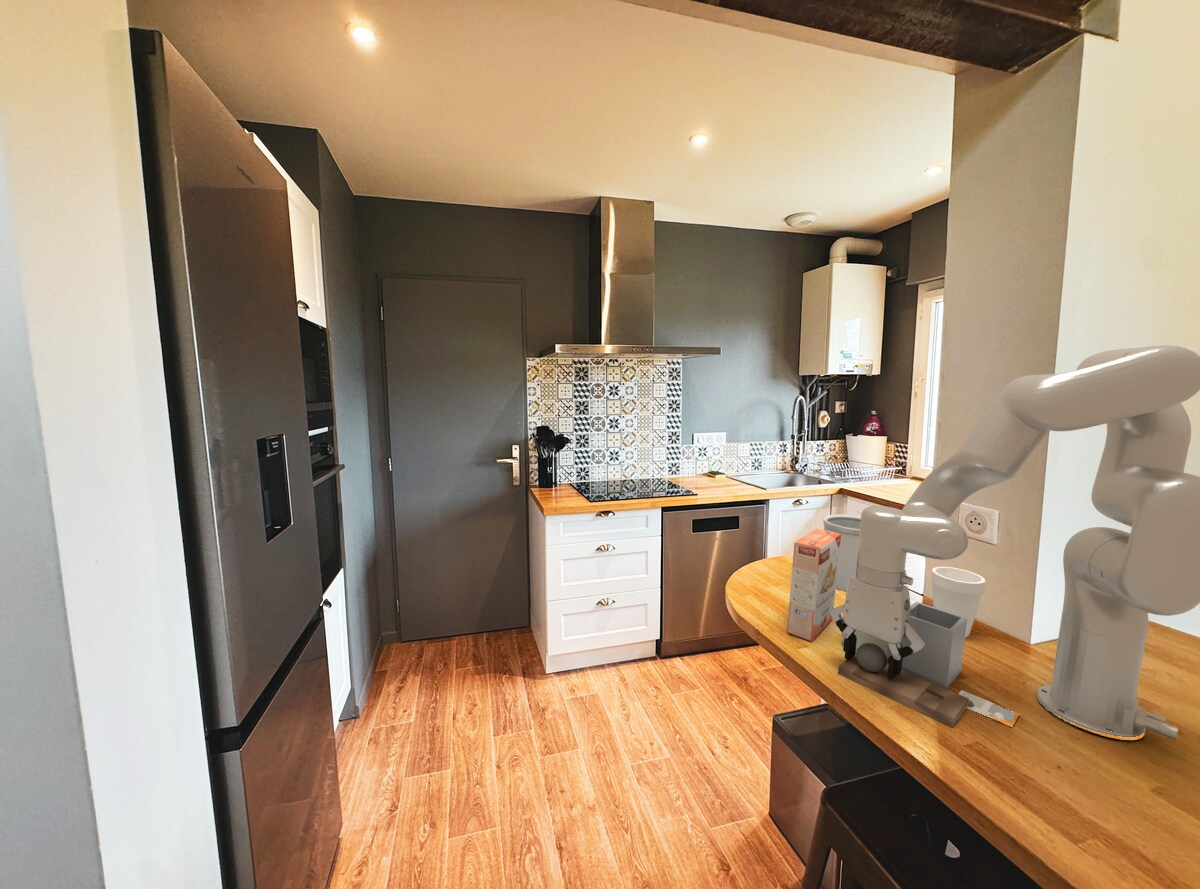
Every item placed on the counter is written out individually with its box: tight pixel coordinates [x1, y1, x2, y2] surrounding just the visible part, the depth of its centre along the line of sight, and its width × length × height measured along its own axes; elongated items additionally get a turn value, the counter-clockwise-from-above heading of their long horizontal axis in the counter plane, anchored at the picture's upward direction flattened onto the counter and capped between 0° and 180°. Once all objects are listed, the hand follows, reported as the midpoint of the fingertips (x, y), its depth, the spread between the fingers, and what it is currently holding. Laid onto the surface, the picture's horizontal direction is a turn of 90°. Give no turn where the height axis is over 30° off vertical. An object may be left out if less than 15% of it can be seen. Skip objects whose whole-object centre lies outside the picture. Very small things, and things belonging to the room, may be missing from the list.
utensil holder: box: [822, 514, 861, 592], centre depth 130 cm, size 15×15×18 cm
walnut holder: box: [837, 653, 969, 728], centre depth 85 cm, size 18×8×2 cm, turn 39°
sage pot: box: [841, 630, 892, 663], centre depth 98 cm, size 8×8×11 cm
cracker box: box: [786, 528, 841, 643], centre depth 106 cm, size 14×6×21 cm, turn 137°
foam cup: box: [930, 566, 986, 639], centre depth 106 cm, size 10×9×13 cm
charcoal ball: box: [856, 643, 888, 672], centre depth 89 cm, size 5×5×5 cm
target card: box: [958, 689, 1017, 721], centre depth 80 cm, size 8×5×1 cm, turn 39°
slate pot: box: [901, 601, 967, 689], centre depth 91 cm, size 8×8×11 cm
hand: (870, 665), depth 89 cm, fingers open, 6 cm apart
